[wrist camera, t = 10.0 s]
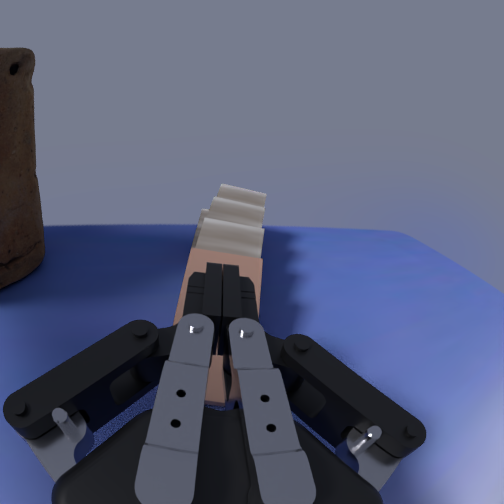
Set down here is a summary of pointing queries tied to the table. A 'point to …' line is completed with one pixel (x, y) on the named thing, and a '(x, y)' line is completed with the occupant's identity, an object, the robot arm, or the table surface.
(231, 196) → the domino
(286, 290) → the table surface
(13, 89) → the block
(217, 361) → the domino
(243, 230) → the domino
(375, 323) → the table surface
